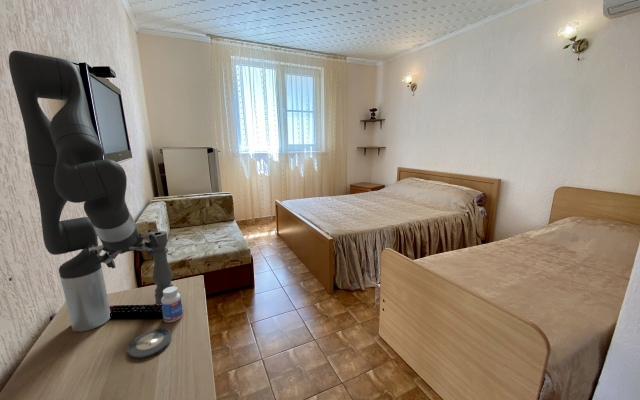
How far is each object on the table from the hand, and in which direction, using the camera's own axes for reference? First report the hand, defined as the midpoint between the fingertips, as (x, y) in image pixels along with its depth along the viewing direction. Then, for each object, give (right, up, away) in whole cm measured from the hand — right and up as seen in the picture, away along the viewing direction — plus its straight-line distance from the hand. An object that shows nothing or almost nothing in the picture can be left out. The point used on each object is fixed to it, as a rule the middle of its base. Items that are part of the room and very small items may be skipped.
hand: (132, 259), depth 74 cm
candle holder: (-1, -19, +18) cm, 26 cm away
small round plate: (+7, -23, -2) cm, 24 cm away
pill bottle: (+6, -21, +10) cm, 24 cm away
